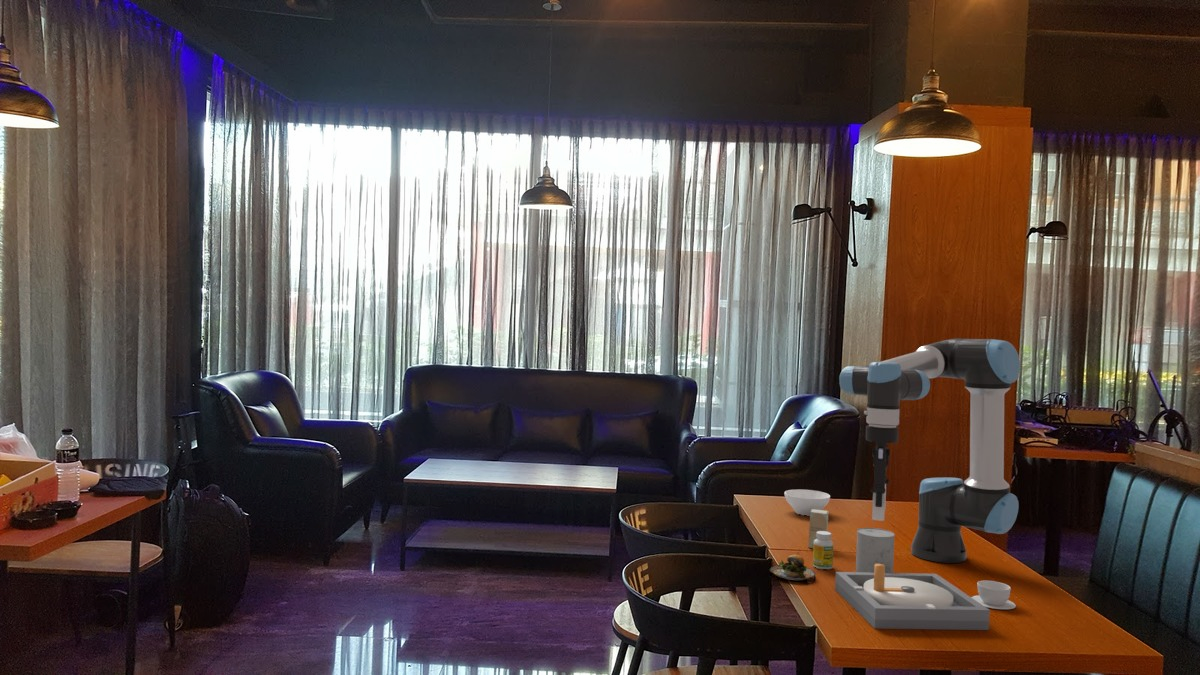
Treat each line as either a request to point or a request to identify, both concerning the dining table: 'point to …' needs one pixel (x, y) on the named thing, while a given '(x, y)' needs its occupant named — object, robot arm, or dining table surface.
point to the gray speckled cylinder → (874, 549)
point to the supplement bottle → (823, 550)
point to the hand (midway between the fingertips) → (878, 514)
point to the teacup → (994, 595)
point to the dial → (905, 591)
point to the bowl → (806, 500)
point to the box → (817, 524)
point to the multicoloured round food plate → (793, 569)
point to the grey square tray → (954, 617)
